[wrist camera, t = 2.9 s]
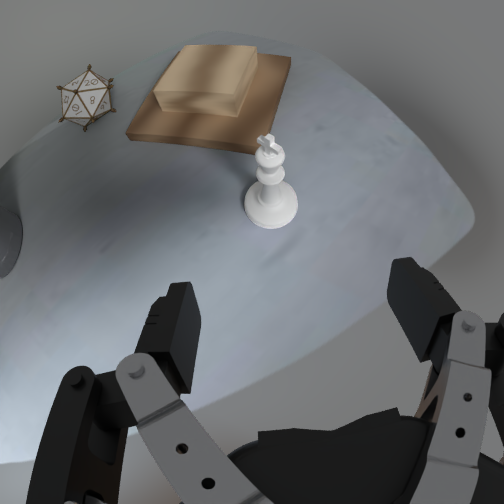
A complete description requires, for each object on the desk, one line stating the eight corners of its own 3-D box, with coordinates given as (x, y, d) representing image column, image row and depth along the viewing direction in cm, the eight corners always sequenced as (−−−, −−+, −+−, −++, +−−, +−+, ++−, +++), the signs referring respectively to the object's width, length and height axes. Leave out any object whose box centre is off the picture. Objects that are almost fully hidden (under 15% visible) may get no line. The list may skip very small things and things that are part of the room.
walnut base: (130, 140, 30) (112, 114, 25) (181, 58, 33) (172, 33, 29) (262, 156, 28) (260, 124, 23) (290, 65, 31) (291, 36, 27)
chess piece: (267, 171, 27) (263, 99, 17) (308, 200, 26) (324, 134, 16) (233, 207, 26) (213, 143, 17) (274, 239, 25) (275, 185, 16)
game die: (114, 120, 36) (121, 59, 29) (116, 140, 31) (123, 66, 24) (60, 125, 31) (62, 63, 25) (51, 147, 27) (51, 71, 20)
